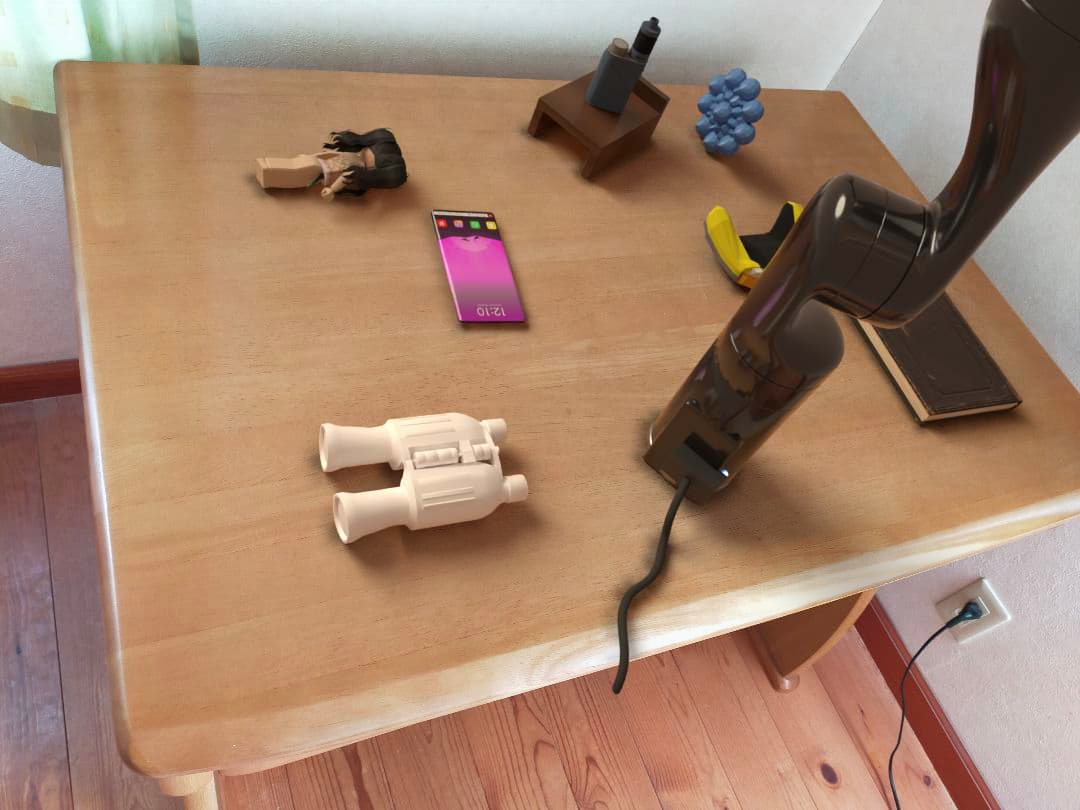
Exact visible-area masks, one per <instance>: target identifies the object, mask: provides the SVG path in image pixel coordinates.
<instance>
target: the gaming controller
mask: <svg viewBox="0 0 1080 810" xmlns="http://www.w3.org/2000/svg"><path fill="white" fill-rule="evenodd" d="M804 209H805V208H804V207H803V205H802V204H799V203H796V202H793V201H787V202H786V203H784V204H783V205H782V206H781V208H780V209H779V212H778V214H777V216H776V218H775V220H774V221H773V224H772V226H771V228H770V229H769V231H768V232H765V233H758V234H757V233H756V234H755V233H754V234H744V235H739V234H738V232H737V231H736V229H735V226H734V223H733V220H732V219H731V217H730V215H729V211H727V209H726V208H723V207H722V206H720V205H715V207H714V208H712V210H711V211H710V212H709V213H708V214H707V215H706V217H705V218H704V220H703V230H704V237H705V240H706V242H707V243H708V245H709V247H710V249H711V252H712V253H713V255H714V257H715V259H716V260H717V262H718V264H719V265H720V267H722V268H723V270H724V271H725V272H726V273H727V277H728V278H729V279H730V280H732V282H735V283H736V284H738V285H740V286H743V287H745V288H748V289H750V290H751V289H752V287H753V286H754V284H755V282H756V281H757V279H758V278H759V276H760V275H761V273H762V272H763V270H764V269H765V268H766V266H767V265H768V264H769V262H770V261H771V259H772V258H773V256H774V255H775V253H776V252H777V250H778V249H779V247H780V246H781V244H782V243H783V241H784V240H785V238H786V237H787V235H788V233H789V232H790V230H791V229H792V227H793V225H794V224H795V222H796V221H797V219H798V218H799V216H800V214H801V213H802V212H803V210H804Z"/></svg>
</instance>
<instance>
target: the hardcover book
mask: <svg viewBox="0 0 1080 810" xmlns="http://www.w3.org/2000/svg"><path fill="white" fill-rule="evenodd" d="M849 317H850V319H851V321H853V324H854V325H855V327H856V328H857V330H858V331H859V333H860V335H861V336H862V338H863V339H864V341H865V342H866V344H867V345H868V347H869V349H870V350H871V352H872V353H873V355H874V357H875V359H876V360H877V361H878V363H879V364H880V366H881V368H882V369H883V371H884V372H885V374H886V376H887V377H888V379H889V381H890V382H891V384H892V385H893V387H894V388H895V390H896V391H897V393H898V394H899V396H900V398H901V399H902V401H903V402H904V404H905V405H906V407H907V409H908V410H909V412H910V414H911V416H912V417H913V418H914V420H915V422H916V423H917V425H918V426H920V425H921V426H922V425H930V424H935V423H941V422H948V421H954V420H960V419H967V418H973V417H979V416H987V415H993V414H999V413H1005V412H1010V411H1013V410H1014V409H1016V408H1017V407H1019V406H1020V405H1021V404H1022V403H1023V402H1024V401H1023V399H1022V397H1021V396H1020V394H1019V393H1018V391H1017V390H1016V388H1014V386H1013V384H1012V383H1011V382H1010V381H1009V379H1008V378H1007V376H1006V375H1005V373H1004V372H1003V370H1002V369H1001V368H1000V366H999V365H998V364H997V362H996V361H995V359H994V358H993V356H992V354H991V353H990V352H989V351H988V349H987V348H986V346H985V345H984V344H983V343H982V341H981V340H980V338H979V337H978V336H977V334H976V332H975V331H974V329H973V328H972V326H971V325H970V324H969V323H968V321H967V320H966V318H965V317H964V315H963V314H962V313H961V312H960V310H959V308H958V307H957V306H956V304H955V303H954V302H953V300H952V299H951V297H950V296H949V295H948V293H947V292H946V289H945V290H944V291H943V292H942V294H941V295H940V296H939V297H938V298H937V299H936V300H935V301H934V302H933V303H932V304H931V305H930V306H929V307H928V308H927V309H926V310H925V311H924V312H923V313H922V314H920V315H919V316H918V317H917V318H915V319H914V320H912V321H911V322H909V323H908V324H906V325H904V326H902V327H899V328H894V329H886V328H881V327H878V326H874V325H872V324H869V323H866V322H864V321H861V320H859V319H857V318H854V317H852V316H850V315H849Z"/></svg>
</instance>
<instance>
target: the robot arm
mask: <svg viewBox="0 0 1080 810" xmlns="http://www.w3.org/2000/svg"><path fill="white" fill-rule="evenodd" d="M1079 134H1080V0H990V2H989V5H988V8H987V11H986V13H985V17H984V20H983V24H982V28H981V33H980V36H979V44H978V50H977V58H976V67H975V79H974V89H973V102H972V110H971V118H970V125H969V131H968V135H967V140H966V145H965V148H964V151H963V154H962V157H961V160H960V162H959V164H958V165H957V168H956V169H955V171H954V172H953V174H952V176H951V178H949V180H948V182H947V184H946V185H945V186H944V188H943V189H942V190H941V191H940V192H939V193H938V195H937V196H935V198H934V199H933V200H931V201H930V202H928V203H927V204H923V203H921V202H919V201H917V200H916V199H915V200H914V199H913V198H910V197H908V196H906V195H905V194H902V193H899V192H897V191H895V190H893V189H892V188H891V189H890V188H889V187H886V186H884V185H881V184H880V183H878V182H876V181H873V180H872V179H869V178H866V177H863V176H861V175H859V174H856V173H853V172H841V173H839V174H837V175H834V176H833V177H831V178H830V179H828V180H827V181H826V182H825V183H824V184H822V186H821V187H819V189H818V190H817V191H816V192H815V193H814V195H813V196H812V197H811V198H810V200H809V201H808V202H807V204H806V205H805V207H804V208H803V209H804V210H803V212H802V213H801V214H800V216H799V218H798V219H797V221H796V222H795V224H794V225H793V227H792V229H791V230H790V232H789V233H788V235H787V237H786V238H785V240H784V241H783V243H782V244H781V246H780V247H779V249H778V250H777V252H776V253H775V255H774V256H773V258H772V259H771V261H770V262H769V264H768V265H767V266H766V268H765V269H764V270H763V272H762V273H761V275H760V276H759V278H758V279H757V281H756V282H755V284H754V286H753V287H752V289H751V288H750V290H749V292H748V294H747V296H746V297H745V299H744V300H743V301H742V303H741V304H740V306H739V307H738V308H737V310H736V311H735V313H734V314H733V316H732V317H731V318H730V320H729V321H728V323H727V324H726V325H725V327H724V328H723V329H722V330H721V332H720V333H719V334H718V336H716V338H715V340H714V341H713V342H712V343H711V345H710V346H709V347H708V349H707V350H706V352H705V353H704V354H703V356H702V357H701V358H700V360H699V361H698V362H697V364H696V365H695V366H694V368H693V369H692V370H691V372H690V373H689V374H688V376H687V377H686V378H685V380H684V381H683V382H682V384H681V385H680V386H679V388H678V389H677V391H675V393H674V394H673V395H672V397H671V398H670V400H669V401H668V403H667V404H666V406H665V407H664V408H663V409H662V411H661V412H660V413H659V414H658V415H657V416H656V417H655V419H654V420H653V421H652V423H651V424H650V425H649V427H648V429H647V432H646V440H645V442H646V443H645V444H646V445H645V446H646V450H645V452H644V454H643V455H642V459H643V460H644V461H645V462H646V463H647V464H648V465H650V466H651V468H653V469H654V470H655V471H657V472H658V474H660V475H661V476H662V477H663V478H664V479H665V480H666V481H667V482H668V483H670V484H671V485H673V487H675V489H677V490H676V492H675V494H674V496H673V498H672V501H671V502H670V504H669V507H668V509H667V512H666V515H665V518H664V521H663V523H662V524H663V525H662V528H661V532H660V537H659V541H658V544H657V549H656V554H655V558H654V562H653V564H652V567H651V569H650V571H649V572H648V574H647V575H646V576H645V577H644V578H642V579H641V580H640V581H638V582H637V583H635V584H633V585H631V586H630V587H629V589H627V590H626V592H625V593H624V595H623V596H622V598H621V600H620V603H619V606H618V611H617V635H618V644H619V661H618V669H617V672H616V675H615V679H614V681H613V683H612V686H611V692H612V693H613V694H615V695H619V694H620V693H621V691H622V689H623V687H624V684H625V682H626V679H627V676H628V671H629V663H630V645H629V644H630V643H629V636H628V635H629V633H628V624H627V623H628V613H629V608H630V605H631V603H632V601H633V599H634V598H635V597H636V596H637V595H638V594H639V593H641V592H643V591H644V590H645V589H647V588H648V587H650V586H651V585H653V583H654V582H655V581H656V580H657V579H658V577H659V575H660V573H661V571H662V569H663V566H664V562H665V557H666V552H667V548H668V544H669V540H670V535H671V532H672V529H673V528H672V527H673V524H674V522H675V518H676V516H677V514H678V510H679V508H680V506H681V504H682V502H683V499H684V498H685V497H686V498H688V500H690V501H691V500H696V501H697V502H698V503H699V504H700V505H702V506H703V505H704V504H705V503H706V502H707V501H708V500H709V499H711V497H712V496H713V495H714V494H716V493H718V492H720V491H722V490H724V488H726V487H727V486H728V485H729V484H730V482H732V480H733V479H734V478H735V476H736V475H737V473H739V471H741V469H742V468H743V467H744V466H746V464H747V463H748V462H749V461H750V460H751V459H752V458H753V457H754V456H755V455H756V453H758V451H759V450H760V449H761V448H762V447H763V446H764V445H766V443H767V442H769V440H770V439H771V438H772V437H773V436H774V434H776V433H777V432H778V430H780V428H781V427H782V426H783V425H784V424H785V423H786V422H787V421H788V420H789V419H790V418H791V417H792V415H793V414H795V412H797V410H798V409H800V407H801V406H802V405H803V404H804V403H805V402H806V401H807V400H808V399H809V398H810V397H811V396H812V395H813V394H814V393H815V392H816V391H817V390H818V389H819V387H821V386H822V384H824V383H825V381H827V379H828V378H829V377H830V376H831V375H832V374H833V373H834V372H835V371H836V370H837V368H838V367H839V365H841V361H842V360H843V357H844V354H845V338H844V334H843V332H842V329H841V326H840V324H839V322H838V321H837V319H836V317H835V316H834V315H833V313H832V312H831V310H830V309H829V308H828V307H830V308H832V309H834V310H836V311H838V312H841V313H843V314H845V315H848V316H849V317H850V316H852V317H854V318H857V319H859V320H861V321H864V322H866V323H869V324H872V325H874V326H878V327H881V328H886V329H894V328H899V327H902V326H904V325H906V324H908V323H909V322H911V321H912V320H914V319H915V318H917V317H918V316H919V315H920V314H922V313H923V312H924V311H925V310H926V309H927V308H928V307H929V306H930V305H931V304H932V303H933V302H934V301H935V300H936V299H937V298H938V297H939V296H940V295H941V294H942V292H943V291H944V290H945V291H946V289H947V288H948V287H949V285H950V284H951V283H952V282H953V281H954V279H955V278H956V277H957V276H958V275H959V273H961V271H962V270H963V268H964V267H965V266H966V265H967V264H968V263H969V261H970V260H971V258H972V257H973V256H974V255H975V254H976V253H977V251H978V250H979V249H980V247H981V246H982V245H984V242H986V240H987V239H988V238H989V236H990V235H991V234H992V233H993V232H994V230H996V228H997V227H998V225H999V224H1000V223H1001V222H1002V220H1003V219H1004V218H1005V216H1006V215H1007V214H1008V213H1009V212H1010V210H1011V209H1012V208H1013V207H1014V206H1015V205H1016V203H1017V202H1018V201H1019V199H1021V197H1022V196H1023V195H1024V194H1025V192H1026V191H1027V190H1028V189H1029V188H1030V187H1031V186H1032V185H1033V183H1034V182H1035V181H1036V180H1037V179H1038V177H1040V176H1041V175H1042V173H1043V172H1044V171H1045V170H1046V169H1048V167H1049V166H1050V165H1051V164H1052V163H1053V161H1055V159H1056V158H1057V157H1058V156H1059V155H1060V154H1061V153H1062V152H1063V150H1065V148H1066V147H1068V146H1069V145H1070V143H1072V141H1073V140H1074V139H1075V138H1076V137H1077V136H1078V135H1079Z"/></svg>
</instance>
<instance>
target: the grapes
mask: <svg viewBox="0 0 1080 810" xmlns="http://www.w3.org/2000/svg"><path fill="white" fill-rule="evenodd" d="M761 89H762V86H761V83H760V81H759V80H758V79H757V78H753V77H748V75H747V72H746V71H745V70H744V69H743V68H739V67H736V68H732V69H731V70H729V72H727V73H726V74H722V73H720V74H716V75H715V76H713V77H712V78H711V80H710V81H709V83H708V91H709V92H707V93H704V94H702V95H701V96H700V97H699V99H698V100H697V104H696V106H697V109H698V111H699V112H700V114H702V116H700V117H699V118H698V119H697V121H696V122H695V125H694V127H695V128H694V129H695V132H696V133H697V134H698V135H699V136H701V137H703V141H702V144H703V148H704V149H705V150H706V152H708V153H711V154H715V153H718V152H719V153H720V154H721V155H722V157H723V156H724V157H727V158H729V157H733V156H735V155H736V154H737V153H738V151H740V147H741V146H746V145H749V144H751V143H752V142H754V139H755V138H756V135H757V134H756V133H757V130H756V127H755V126H754V125H753V124H755V123H759V121H760V120H761V119H762V118H763V116H764V115H765V114H764V113H765V106H764V104H763V103H762V101H760V100H757V99H758V97H759V96H760V94H761V91H762V90H761Z"/></svg>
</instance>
